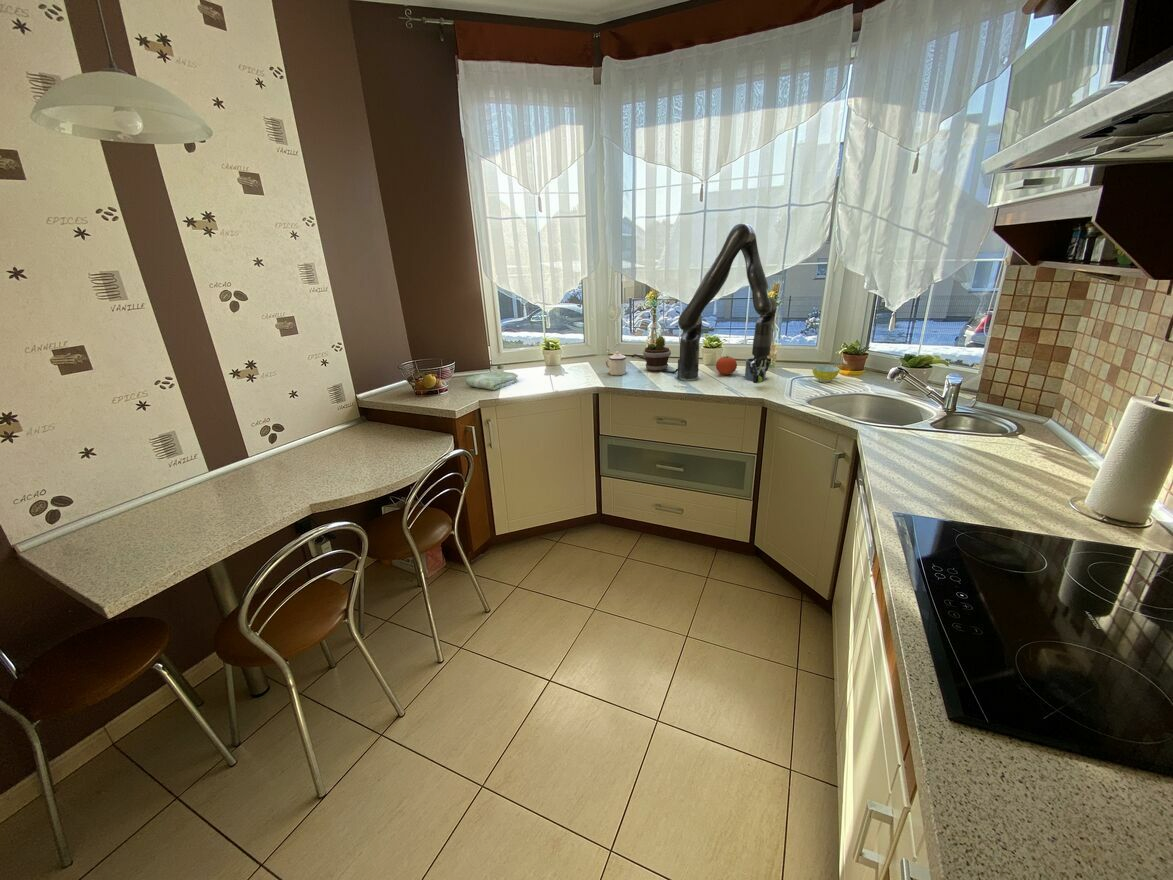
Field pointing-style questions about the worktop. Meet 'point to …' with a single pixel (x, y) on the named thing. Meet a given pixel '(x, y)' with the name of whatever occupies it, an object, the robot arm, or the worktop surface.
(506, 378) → the towel
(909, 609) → the worktop surface
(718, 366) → the tomato
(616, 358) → the teacup with lid
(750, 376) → the cup
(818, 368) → the bowl
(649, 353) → the flowerpot
